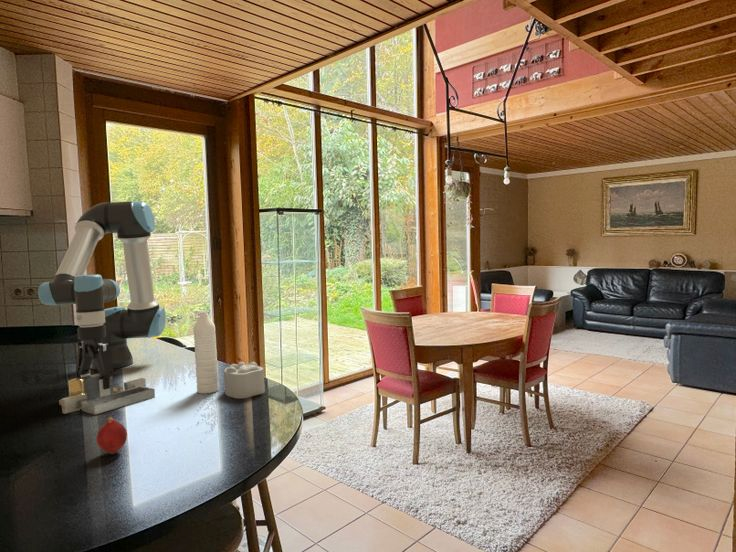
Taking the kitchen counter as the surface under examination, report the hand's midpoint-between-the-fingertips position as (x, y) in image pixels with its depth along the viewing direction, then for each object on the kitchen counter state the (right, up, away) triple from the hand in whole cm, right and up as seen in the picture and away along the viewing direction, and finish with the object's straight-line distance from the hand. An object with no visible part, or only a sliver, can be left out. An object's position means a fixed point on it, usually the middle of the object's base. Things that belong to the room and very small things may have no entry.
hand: (96, 397), depth 148 cm
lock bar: (-1, 0, -1) cm, 1 cm away
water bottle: (+33, +1, +4) cm, 33 cm away
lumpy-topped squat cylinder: (+45, +1, 0) cm, 45 cm away
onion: (+28, -2, -44) cm, 52 cm away
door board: (+5, 0, -4) cm, 6 cm away
